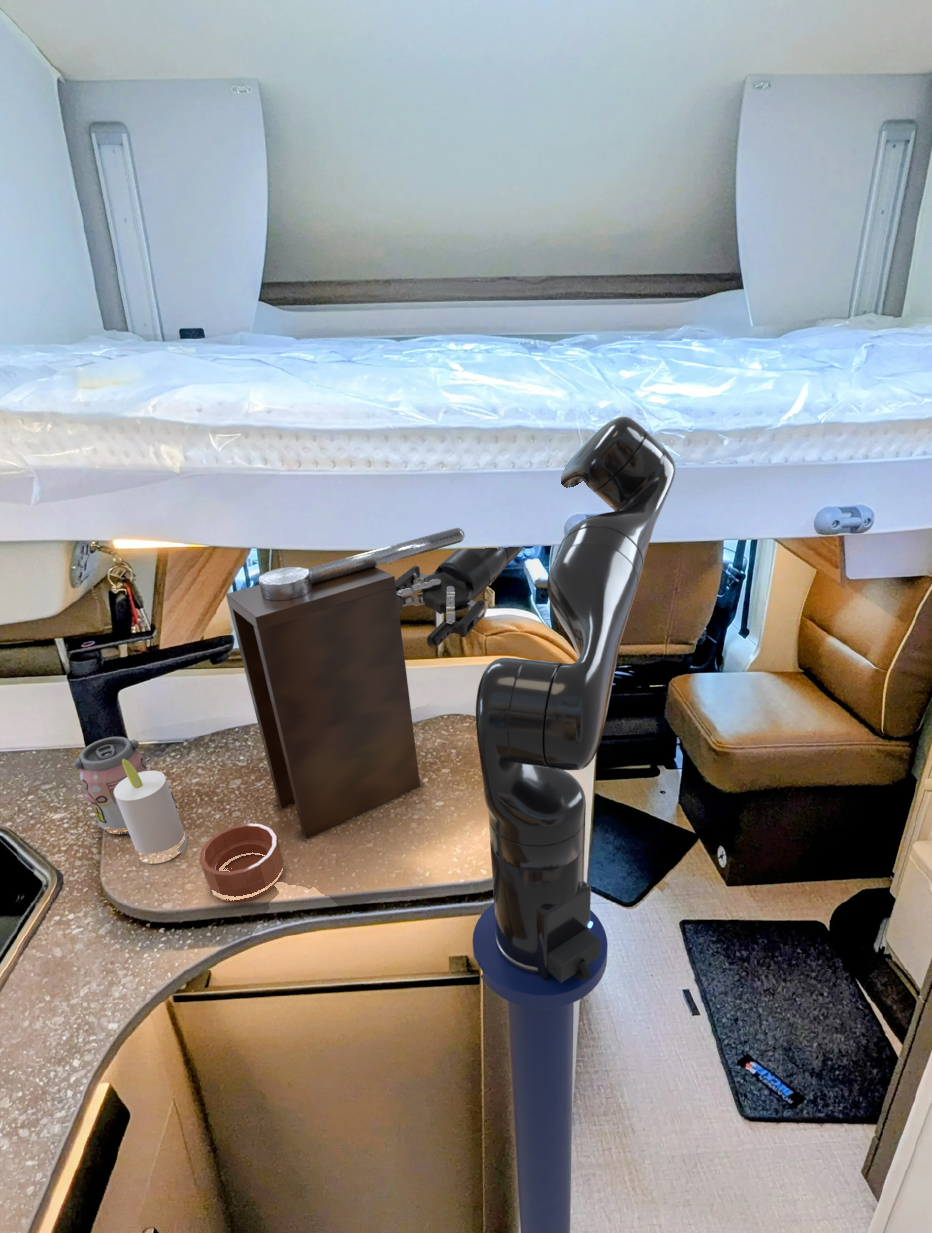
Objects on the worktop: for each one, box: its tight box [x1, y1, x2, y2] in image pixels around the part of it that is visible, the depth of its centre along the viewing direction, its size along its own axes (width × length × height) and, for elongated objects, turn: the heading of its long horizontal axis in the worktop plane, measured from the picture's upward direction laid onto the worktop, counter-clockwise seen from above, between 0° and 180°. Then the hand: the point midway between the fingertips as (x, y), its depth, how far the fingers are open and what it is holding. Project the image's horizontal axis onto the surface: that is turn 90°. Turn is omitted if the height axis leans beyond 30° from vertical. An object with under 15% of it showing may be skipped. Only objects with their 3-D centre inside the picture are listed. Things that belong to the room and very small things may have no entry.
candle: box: [114, 759, 188, 854], centre depth 91 cm, size 6×6×15 cm
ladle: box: [257, 527, 465, 601], centre depth 89 cm, size 29×6×2 cm, turn 124°
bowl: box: [198, 822, 285, 903], centre depth 87 cm, size 9×9×5 cm
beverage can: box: [72, 736, 149, 835], centre depth 98 cm, size 9×8×12 cm
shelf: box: [225, 566, 421, 840], centre depth 94 cm, size 18×10×32 cm, turn 124°
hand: (406, 629), depth 103 cm, fingers open, 8 cm apart
